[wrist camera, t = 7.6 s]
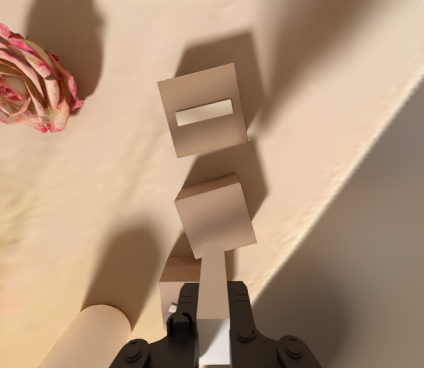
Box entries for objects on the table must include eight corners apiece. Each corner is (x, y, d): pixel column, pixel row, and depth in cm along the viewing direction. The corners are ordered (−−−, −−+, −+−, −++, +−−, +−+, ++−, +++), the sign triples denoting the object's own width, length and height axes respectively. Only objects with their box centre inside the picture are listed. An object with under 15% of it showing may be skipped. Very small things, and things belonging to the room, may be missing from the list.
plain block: (181, 188, 27) (174, 201, 22) (235, 172, 26) (239, 182, 21) (198, 236, 29) (195, 259, 24) (250, 222, 28) (257, 242, 23)
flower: (-30, 34, 21) (-101, 70, 16) (31, -18, 19) (-31, 6, 14) (59, 113, 28) (29, 155, 23) (114, 83, 25) (93, 124, 20)
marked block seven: (168, 256, 29) (158, 283, 24) (219, 256, 29) (220, 282, 24) (172, 299, 31) (163, 331, 26) (220, 298, 31) (221, 332, 26)
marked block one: (168, 91, 24) (156, 81, 19) (230, 76, 24) (234, 61, 19) (184, 152, 26) (177, 158, 21) (242, 139, 25) (248, 142, 20)
